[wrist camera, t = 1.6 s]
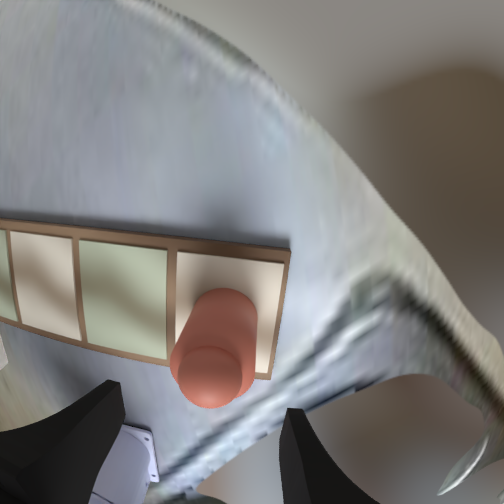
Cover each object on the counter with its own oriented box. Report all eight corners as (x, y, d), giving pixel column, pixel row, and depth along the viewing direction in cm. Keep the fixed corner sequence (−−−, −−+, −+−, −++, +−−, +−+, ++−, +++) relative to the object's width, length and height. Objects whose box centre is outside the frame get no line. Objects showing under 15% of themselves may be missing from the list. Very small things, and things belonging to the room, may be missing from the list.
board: (270, 374, 23) (270, 381, 22) (-19, 309, 23) (-24, 313, 23) (290, 248, 21) (291, 252, 20) (-31, 215, 21) (-38, 216, 20)
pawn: (253, 349, 22) (248, 434, 14) (191, 341, 22) (160, 420, 14) (261, 291, 20) (259, 365, 13) (193, 283, 20) (155, 350, 13)
